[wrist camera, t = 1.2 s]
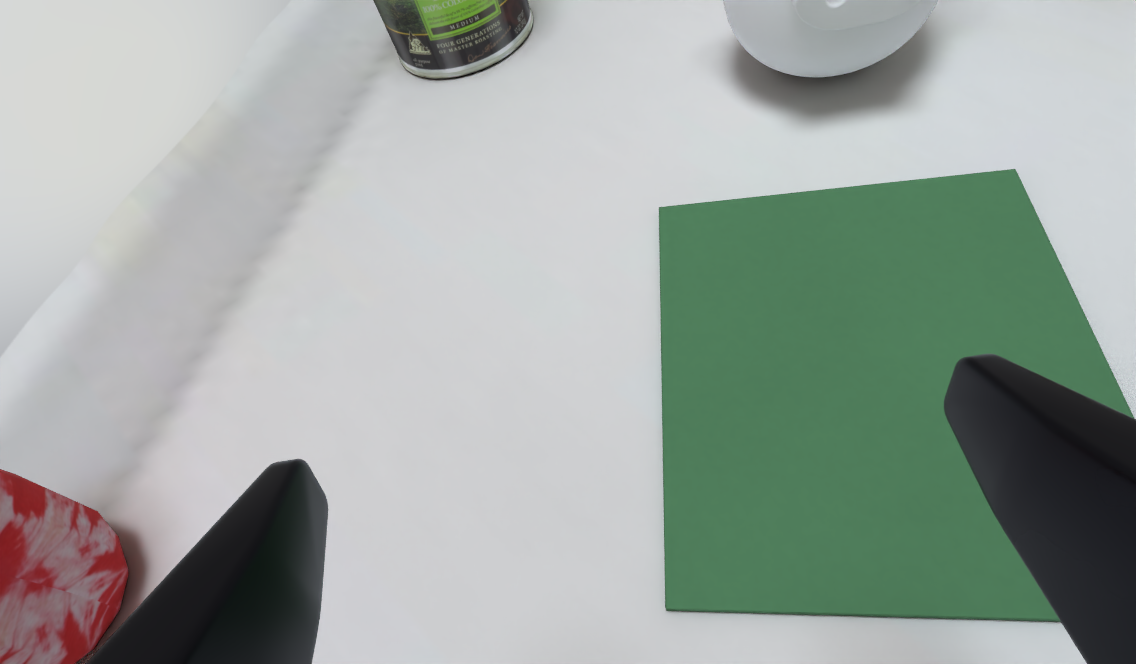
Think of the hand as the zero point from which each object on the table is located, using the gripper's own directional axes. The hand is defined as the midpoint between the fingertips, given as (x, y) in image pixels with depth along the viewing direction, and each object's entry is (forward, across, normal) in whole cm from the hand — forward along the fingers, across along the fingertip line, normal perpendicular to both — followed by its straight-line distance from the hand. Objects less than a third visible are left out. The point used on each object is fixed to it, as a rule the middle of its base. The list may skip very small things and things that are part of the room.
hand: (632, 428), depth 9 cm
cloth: (+12, -11, +11) cm, 20 cm away
